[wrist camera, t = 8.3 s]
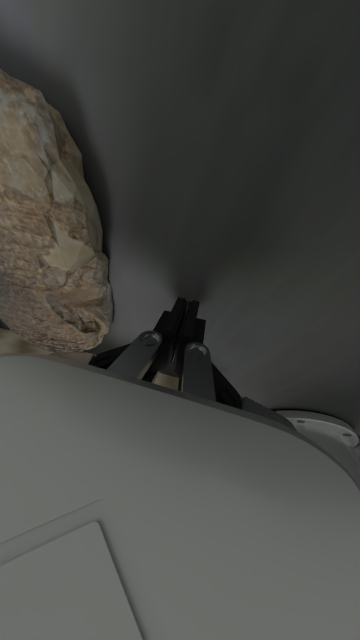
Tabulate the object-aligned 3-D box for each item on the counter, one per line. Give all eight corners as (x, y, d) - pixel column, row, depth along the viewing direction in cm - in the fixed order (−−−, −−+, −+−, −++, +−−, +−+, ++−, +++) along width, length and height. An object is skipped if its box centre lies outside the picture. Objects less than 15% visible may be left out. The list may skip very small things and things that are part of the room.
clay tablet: (126, 351, 19) (106, 91, 6) (102, 385, 15) (-66, -91, 3) (35, 320, 20) (-145, 33, 7) (-9, 345, 16) (-561, -174, 3)
